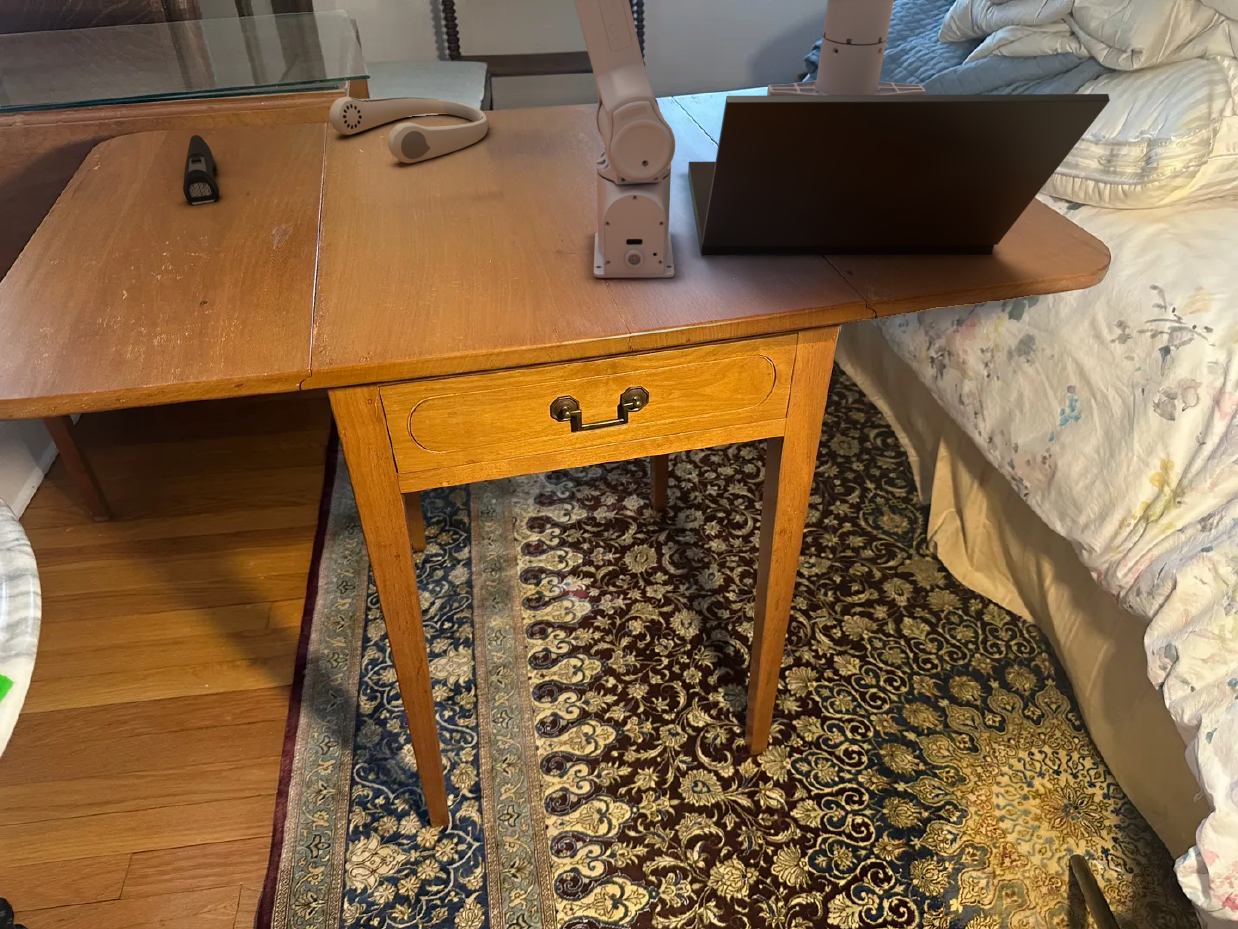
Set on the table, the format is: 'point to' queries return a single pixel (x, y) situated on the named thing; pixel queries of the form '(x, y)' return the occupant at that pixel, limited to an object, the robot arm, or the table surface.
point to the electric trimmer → (199, 173)
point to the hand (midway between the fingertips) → (831, 182)
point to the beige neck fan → (410, 124)
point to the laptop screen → (886, 166)
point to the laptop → (700, 193)
